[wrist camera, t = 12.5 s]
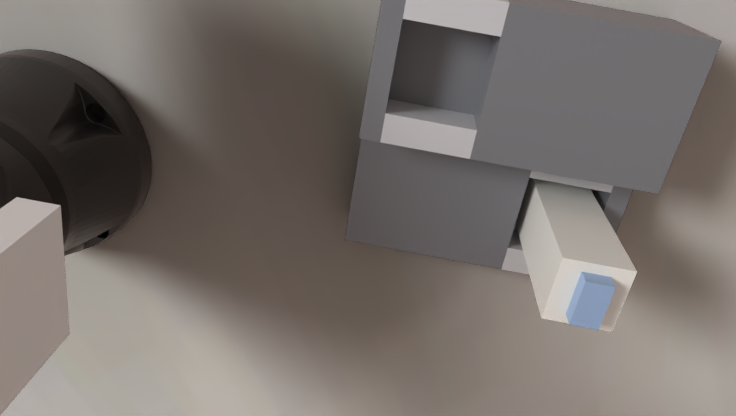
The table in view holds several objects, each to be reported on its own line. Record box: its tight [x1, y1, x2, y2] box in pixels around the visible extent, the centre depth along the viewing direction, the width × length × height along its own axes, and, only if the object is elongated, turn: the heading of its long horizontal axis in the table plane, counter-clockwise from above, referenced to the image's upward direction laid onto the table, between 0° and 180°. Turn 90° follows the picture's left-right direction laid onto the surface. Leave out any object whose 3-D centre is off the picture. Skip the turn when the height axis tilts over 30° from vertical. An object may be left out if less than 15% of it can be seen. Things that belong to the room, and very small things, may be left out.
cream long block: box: [516, 178, 637, 332], centre depth 38 cm, size 4×4×13 cm
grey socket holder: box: [345, 0, 722, 275], centre depth 40 cm, size 18×18×7 cm
